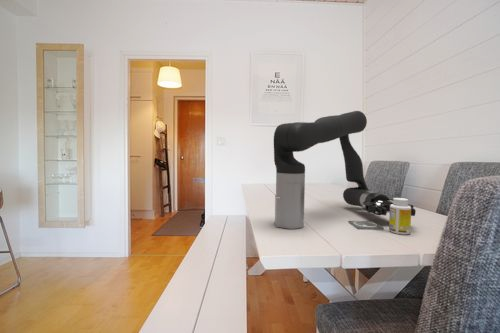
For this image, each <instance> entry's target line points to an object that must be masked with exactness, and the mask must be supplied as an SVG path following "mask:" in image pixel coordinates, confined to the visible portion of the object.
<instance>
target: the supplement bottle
mask: <svg viewBox="0 0 500 333" xmlns="http://www.w3.org/2000/svg"><path fill="white" fill-rule="evenodd" d="M392 201H393V204H391V205H390V213H389V219H388V220H389V223H388V224H389V226H388V229H389V232H391V233H394V234H398V235H410V233H411V231H412V230H411V226H412V222H411V221H412V216H411V207H410V206H409V205H408V204H409V199H407V198H404V197H403V198H402V197H392Z"/></svg>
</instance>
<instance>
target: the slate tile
mask: <svg viewBox="0 0 500 333" xmlns="http://www.w3.org/2000/svg"><path fill="white" fill-rule="evenodd" d="M347 221H348V223H349V224H351V226H353V227H354V228H356V229H357V230H382V231H384V227H383V226H382V225H380V224H378V223H377V222H374V221H373V220H347Z"/></svg>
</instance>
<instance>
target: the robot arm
mask: <svg viewBox="0 0 500 333" xmlns="http://www.w3.org/2000/svg"><path fill="white" fill-rule="evenodd" d="M367 123H368V121H367V116H366V114H365V113H363V112H362V111H361V110H354V111H349V112H345V113H341V114H339V115H338V114H337V115H328V116H322V117H318V118H317V119H316V120H315V121H314V122H308V121H307V122H304V121H303V122H301V121H300V122H289V123H288V122H287V123H281V124H279V125H277V126H276V128H275V130H274V133H273V161H274V165H275V170H276V172H275V174H276V176H275V177H276V178H275V181H276V182H275V196H274V197H275V198H274V199H275V200H274V224H275V227H276V228H282V229H290V230H291V229H292V230H293V229H294V230H296V229H301V228H303V227H304V226H305V191H306V188H305V186H306V184H305V183H306V181H305V179H306V166H305V164H304V163H302V162H300V161H299V160H298V159H296V158H295V157H294V152H296V153H298V152H304V151H306V150H308V149H310V148H312V147H314V146H316V145H318V144H323V143H328V142H330V141H334V140H337V139H339V143H340V148H341V150H342V154H343V155H342V156H343V160H344V166H345V168H344V169H345V179H346V181H347V182H350V183H356V184H357V186H355V187H348V188H345V189H344V191H343V193H342V198H343V200H344V201H345V203H347V204H348V205H350V206H357V207H361V208H362V210H364V211H366V212H367V213H369V214H371V213H372V214H374V215H375V216H376V215H377V216H387V213H389V214H390V205H391V204H393V200H390V198H389V196H387V195H386V194H383V193H380V192H376V191H371V190H369V188H368V185H367V184H366V183H367V182H366V180H365V176H364V168H363V160H362V159H361V157H360V154H359V153H358V152H357V151H356V149H355V148H354V147H353V145H352V143H351V141H350V136H349V135H352V134H357V133H361V132H363V131H364V130H365V129H366V127H367ZM408 205H409V206H410V207H411V217H415V215H416V213H417V212H416V210H417V209H415V208H414V205H413V204H409V203H408Z"/></svg>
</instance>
